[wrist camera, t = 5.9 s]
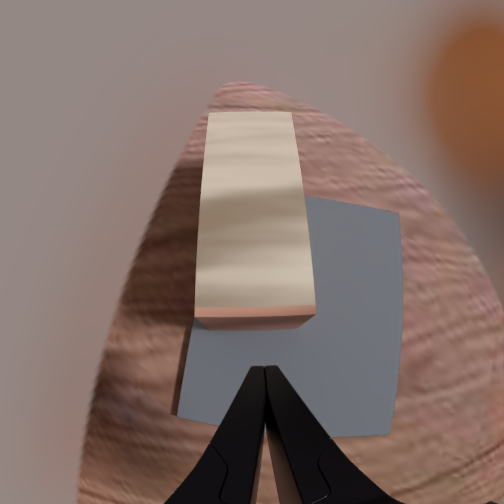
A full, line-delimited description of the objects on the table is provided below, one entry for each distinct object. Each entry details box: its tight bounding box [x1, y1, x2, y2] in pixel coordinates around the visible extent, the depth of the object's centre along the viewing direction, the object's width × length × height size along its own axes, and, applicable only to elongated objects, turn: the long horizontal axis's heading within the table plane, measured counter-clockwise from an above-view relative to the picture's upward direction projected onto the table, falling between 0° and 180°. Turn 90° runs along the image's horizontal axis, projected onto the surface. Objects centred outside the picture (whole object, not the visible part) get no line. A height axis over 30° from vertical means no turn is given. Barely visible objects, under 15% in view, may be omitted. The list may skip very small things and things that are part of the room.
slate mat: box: [177, 196, 403, 437], centre depth 17 cm, size 13×16×1 cm
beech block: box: [195, 112, 316, 330], centre depth 16 cm, size 5×5×12 cm
